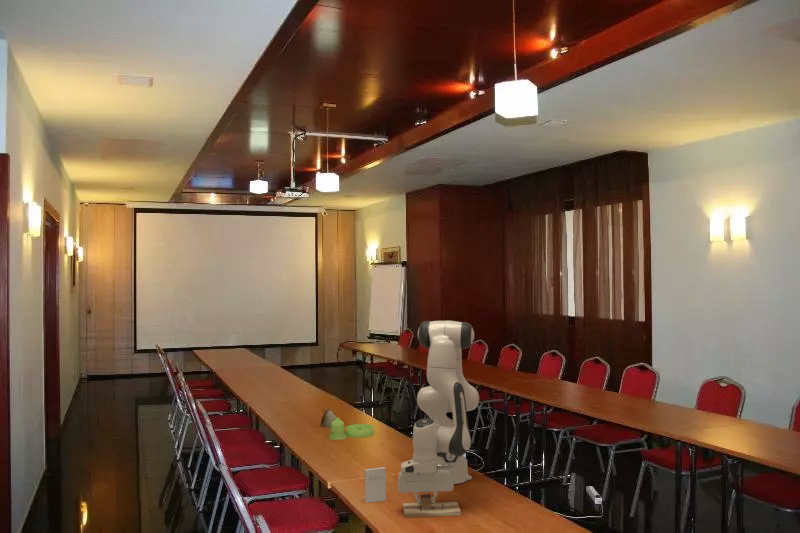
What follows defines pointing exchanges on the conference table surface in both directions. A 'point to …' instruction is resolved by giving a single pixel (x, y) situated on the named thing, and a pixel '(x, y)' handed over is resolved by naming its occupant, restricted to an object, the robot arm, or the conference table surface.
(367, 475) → the hard drive
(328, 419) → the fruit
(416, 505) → the board
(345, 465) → the conference table surface
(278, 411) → the conference table surface
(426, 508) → the block
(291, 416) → the conference table surface
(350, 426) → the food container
